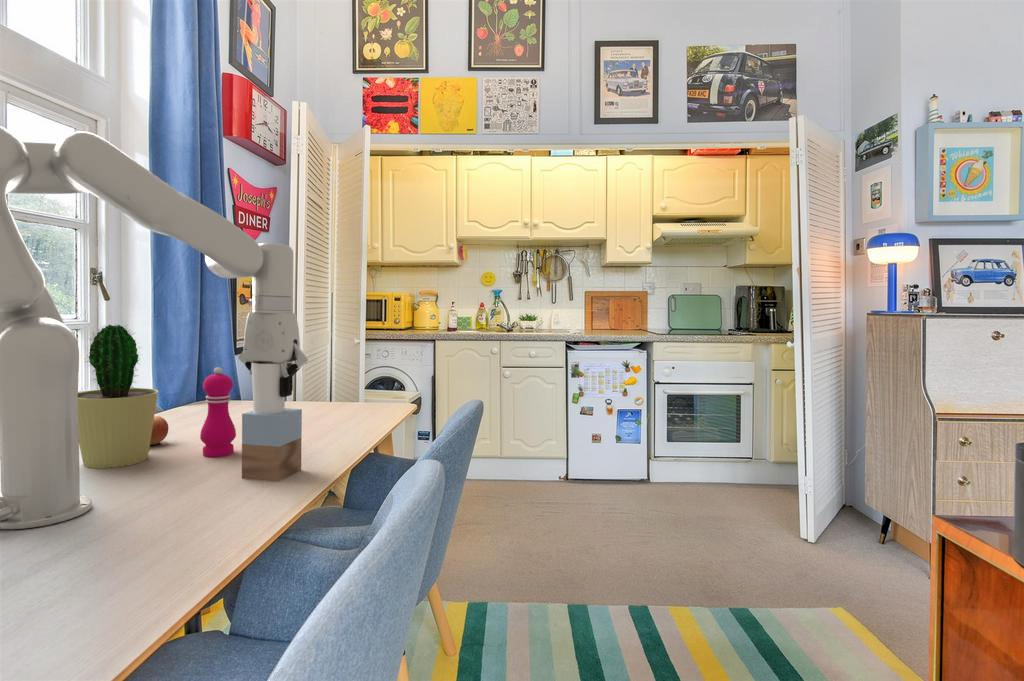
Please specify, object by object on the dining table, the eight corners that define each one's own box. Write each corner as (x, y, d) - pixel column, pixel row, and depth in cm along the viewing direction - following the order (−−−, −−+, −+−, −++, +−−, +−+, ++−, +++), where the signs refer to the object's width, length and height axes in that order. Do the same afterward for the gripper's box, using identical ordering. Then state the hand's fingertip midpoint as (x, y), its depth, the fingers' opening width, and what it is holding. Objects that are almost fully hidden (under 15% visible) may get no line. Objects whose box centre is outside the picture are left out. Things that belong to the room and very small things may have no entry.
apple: (119, 447, 129) (119, 413, 129) (150, 439, 137) (150, 408, 136) (145, 450, 127) (145, 416, 127) (175, 442, 135) (175, 410, 134)
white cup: (274, 406, 116) (275, 359, 115) (293, 411, 112) (294, 362, 111) (244, 411, 110) (244, 361, 110) (263, 415, 107) (263, 364, 106)
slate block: (278, 446, 107) (278, 416, 107) (242, 443, 108) (242, 413, 108) (301, 437, 115) (301, 409, 114) (267, 434, 116) (267, 406, 116)
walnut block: (278, 482, 107) (278, 446, 107) (241, 478, 109) (241, 443, 108) (301, 470, 115) (301, 437, 115) (267, 467, 117) (267, 434, 116)
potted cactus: (175, 455, 124) (174, 322, 122) (109, 474, 109) (107, 323, 107) (123, 448, 128) (121, 320, 126) (52, 466, 113) (49, 321, 111)
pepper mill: (225, 458, 122) (225, 369, 121) (193, 457, 122) (192, 368, 121) (241, 450, 129) (241, 366, 128) (211, 449, 130) (211, 365, 128)
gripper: (222, 304, 108) (222, 395, 109) (300, 306, 105) (300, 400, 106) (248, 304, 115) (247, 390, 116) (321, 307, 112) (321, 395, 113)
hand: (272, 394), depth 111 cm, fingers open, 5 cm apart
